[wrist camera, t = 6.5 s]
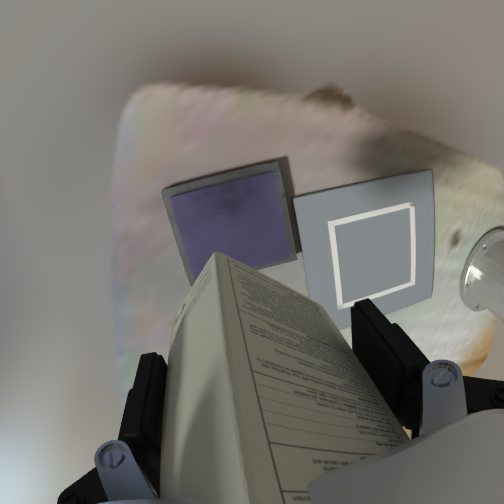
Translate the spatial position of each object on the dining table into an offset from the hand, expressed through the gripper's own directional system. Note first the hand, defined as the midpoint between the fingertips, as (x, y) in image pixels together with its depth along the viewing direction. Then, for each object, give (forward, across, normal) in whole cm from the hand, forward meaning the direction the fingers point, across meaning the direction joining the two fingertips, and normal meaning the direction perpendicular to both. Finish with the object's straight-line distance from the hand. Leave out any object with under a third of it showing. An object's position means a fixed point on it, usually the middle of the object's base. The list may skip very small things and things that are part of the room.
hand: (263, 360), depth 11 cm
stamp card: (+19, -14, +7) cm, 25 cm away
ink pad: (+19, 0, 0) cm, 19 cm away
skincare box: (+4, 0, 0) cm, 4 cm away
